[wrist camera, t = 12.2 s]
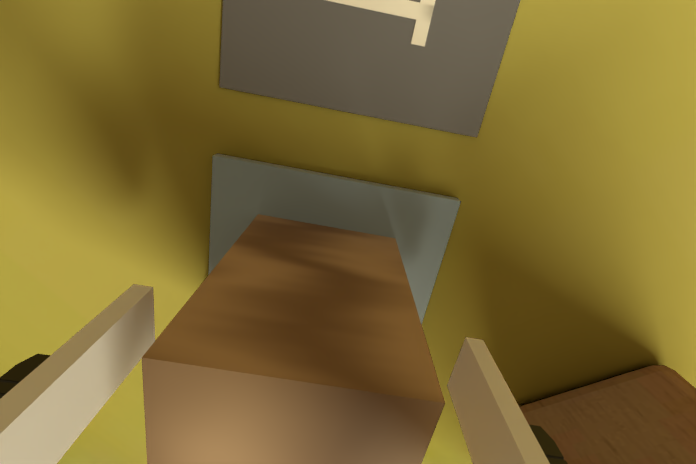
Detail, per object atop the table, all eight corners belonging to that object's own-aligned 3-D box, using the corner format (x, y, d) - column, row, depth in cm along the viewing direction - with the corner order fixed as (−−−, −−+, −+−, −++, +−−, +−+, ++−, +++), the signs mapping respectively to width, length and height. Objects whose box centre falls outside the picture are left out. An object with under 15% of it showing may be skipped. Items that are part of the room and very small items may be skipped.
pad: (209, 349, 21) (205, 356, 20) (217, 153, 16) (212, 155, 16) (400, 378, 21) (401, 385, 21) (457, 197, 17) (460, 201, 16)
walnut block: (247, 328, 19) (151, 539, 10) (258, 214, 17) (142, 357, 8) (367, 347, 20) (380, 567, 11) (395, 238, 17) (445, 403, 8)
